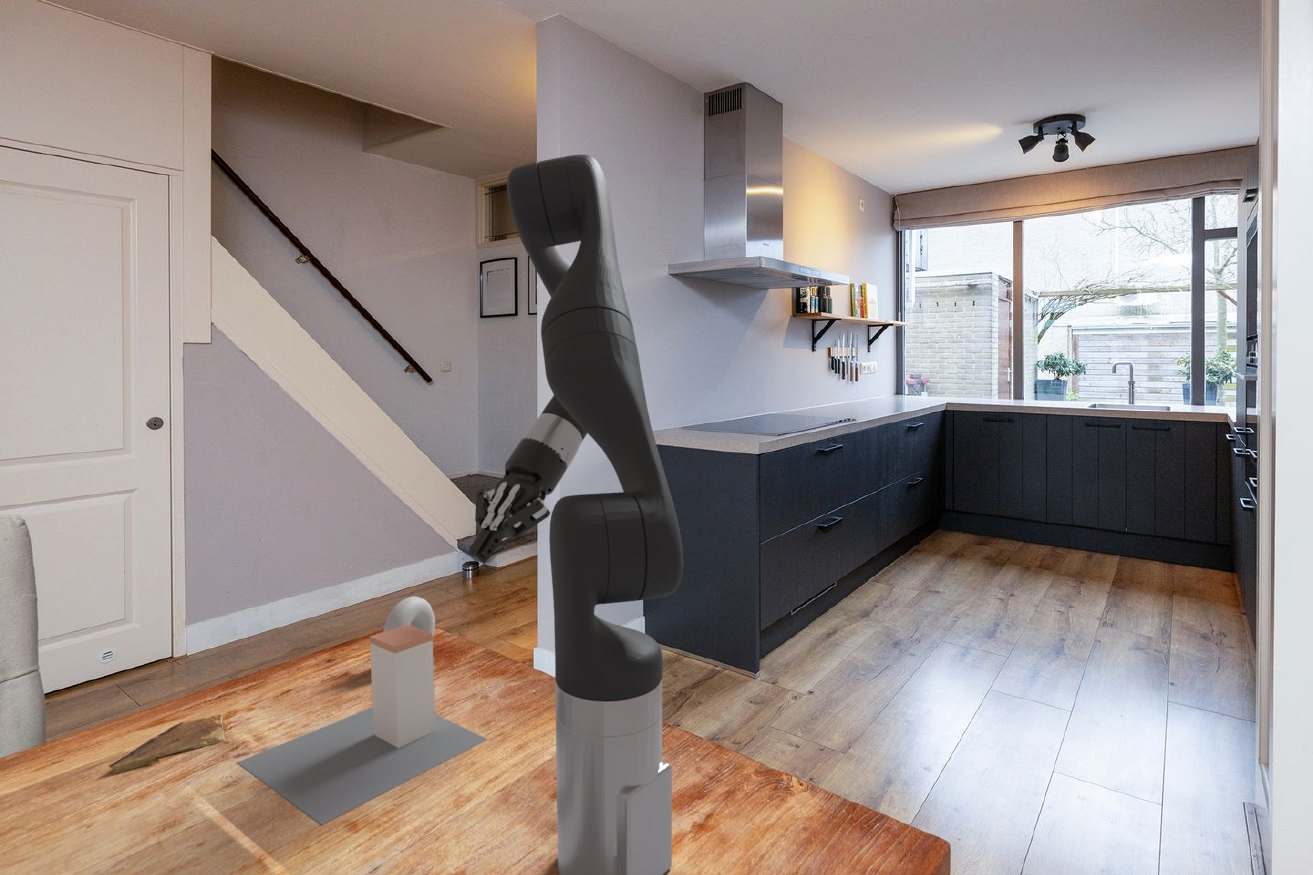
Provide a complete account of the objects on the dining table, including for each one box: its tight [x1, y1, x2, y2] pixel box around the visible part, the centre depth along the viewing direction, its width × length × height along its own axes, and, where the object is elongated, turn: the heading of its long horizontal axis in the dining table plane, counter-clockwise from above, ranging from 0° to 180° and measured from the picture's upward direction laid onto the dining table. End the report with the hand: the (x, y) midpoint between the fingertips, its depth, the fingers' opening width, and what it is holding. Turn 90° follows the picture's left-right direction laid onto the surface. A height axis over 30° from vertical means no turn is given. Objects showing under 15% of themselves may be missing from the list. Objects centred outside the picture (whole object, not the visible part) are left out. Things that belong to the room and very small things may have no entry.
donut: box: [382, 595, 436, 636], centre depth 107 cm, size 10×4×10 cm, turn 162°
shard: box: [108, 713, 226, 774], centre depth 85 cm, size 11×8×2 cm
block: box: [369, 624, 436, 748], centre depth 86 cm, size 5×5×12 cm
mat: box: [236, 706, 489, 826], centre depth 83 cm, size 18×20×1 cm
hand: (476, 558), depth 93 cm, fingers closed
